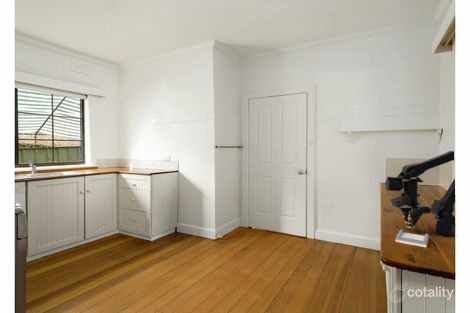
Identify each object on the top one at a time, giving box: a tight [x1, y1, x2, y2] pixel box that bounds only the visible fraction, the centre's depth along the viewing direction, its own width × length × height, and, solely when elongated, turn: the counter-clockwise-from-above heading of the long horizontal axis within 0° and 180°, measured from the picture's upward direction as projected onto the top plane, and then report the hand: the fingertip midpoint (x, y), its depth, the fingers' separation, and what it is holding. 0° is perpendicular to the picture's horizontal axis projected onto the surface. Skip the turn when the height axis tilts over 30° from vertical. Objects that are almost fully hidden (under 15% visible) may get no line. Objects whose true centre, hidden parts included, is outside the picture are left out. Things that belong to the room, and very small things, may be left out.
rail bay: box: [395, 228, 429, 248], centre depth 115 cm, size 13×11×2 cm
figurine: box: [402, 212, 415, 229], centre depth 126 cm, size 5×5×8 cm
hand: (410, 223), depth 126 cm, fingers closed on figurine, 5 cm apart
